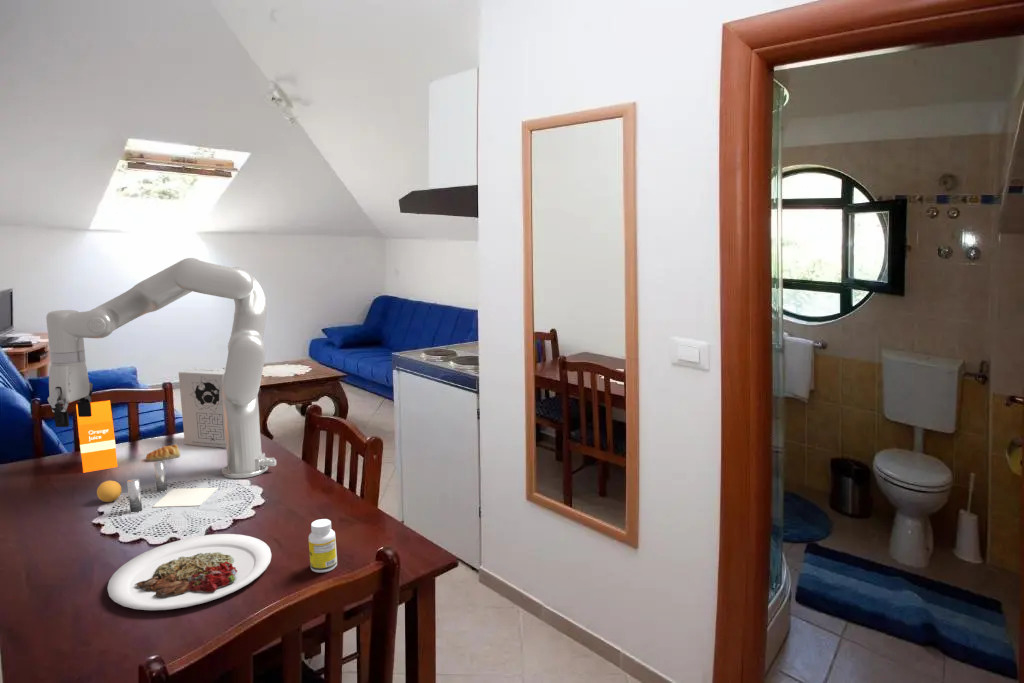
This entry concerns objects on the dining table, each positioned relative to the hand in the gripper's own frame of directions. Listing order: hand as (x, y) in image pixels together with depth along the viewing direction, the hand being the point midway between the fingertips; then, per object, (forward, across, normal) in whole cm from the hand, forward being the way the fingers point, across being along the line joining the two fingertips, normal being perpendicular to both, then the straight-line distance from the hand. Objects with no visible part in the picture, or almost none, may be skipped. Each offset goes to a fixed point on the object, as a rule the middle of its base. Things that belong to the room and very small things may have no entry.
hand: (74, 421), depth 170 cm
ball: (+18, +5, +10) cm, 21 cm away
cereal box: (+20, -43, +20) cm, 52 cm away
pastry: (+21, -30, +8) cm, 37 cm away
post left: (+20, +12, +20) cm, 31 cm away
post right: (+20, -2, +20) cm, 29 cm away
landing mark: (+20, +4, +29) cm, 36 cm away
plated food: (+21, +45, +48) cm, 69 cm away
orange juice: (+21, -23, -8) cm, 32 cm away
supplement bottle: (+20, +44, +74) cm, 88 cm away
